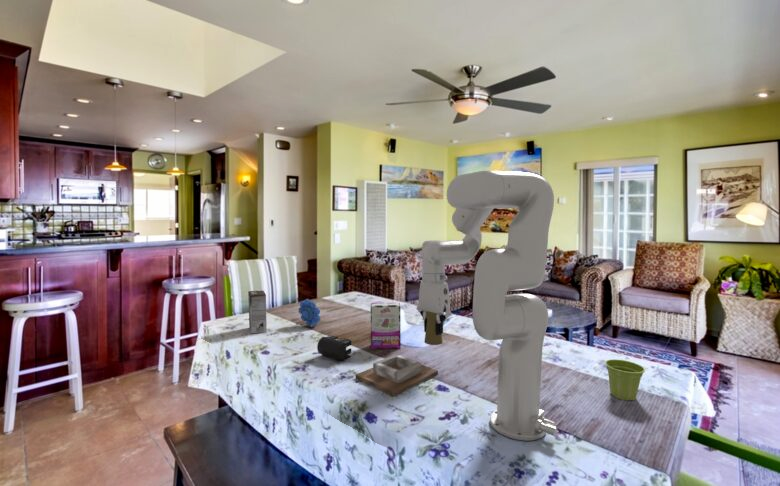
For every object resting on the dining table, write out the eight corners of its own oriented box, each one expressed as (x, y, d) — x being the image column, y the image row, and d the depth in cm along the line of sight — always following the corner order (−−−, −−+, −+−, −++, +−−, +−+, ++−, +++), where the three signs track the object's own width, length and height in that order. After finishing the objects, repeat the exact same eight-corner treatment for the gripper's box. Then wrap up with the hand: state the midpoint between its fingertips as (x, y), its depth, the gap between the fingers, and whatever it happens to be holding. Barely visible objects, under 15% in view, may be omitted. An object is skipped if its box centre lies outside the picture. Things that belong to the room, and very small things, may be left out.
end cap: (316, 357, 133) (316, 338, 132) (330, 351, 139) (330, 333, 138) (339, 364, 127) (339, 344, 127) (352, 357, 133) (352, 338, 133)
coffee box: (248, 327, 166) (247, 291, 165) (264, 326, 169) (263, 289, 168) (250, 333, 158) (249, 295, 157) (267, 331, 161) (266, 294, 159)
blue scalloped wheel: (292, 326, 168) (292, 299, 167) (302, 322, 174) (302, 296, 173) (314, 330, 163) (314, 302, 162) (323, 326, 169) (323, 299, 168)
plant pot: (607, 385, 113) (608, 356, 112) (645, 395, 107) (647, 364, 106) (600, 396, 106) (601, 366, 105) (640, 408, 100) (642, 375, 99)
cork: (442, 345, 124) (442, 311, 123) (423, 344, 125) (423, 311, 124) (443, 339, 130) (443, 307, 129) (425, 338, 131) (425, 307, 130)
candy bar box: (399, 344, 147) (400, 302, 145) (400, 349, 142) (401, 305, 140) (370, 344, 146) (370, 302, 145) (370, 349, 141) (370, 305, 140)
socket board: (437, 374, 119) (438, 361, 119) (393, 396, 105) (393, 381, 105) (400, 360, 131) (400, 348, 130) (355, 378, 116) (355, 364, 116)
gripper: (461, 279, 123) (461, 335, 124) (421, 274, 135) (421, 326, 136) (447, 281, 118) (447, 340, 119) (406, 276, 129) (407, 330, 130)
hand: (433, 332), depth 127 cm, fingers closed on cork, 4 cm apart
